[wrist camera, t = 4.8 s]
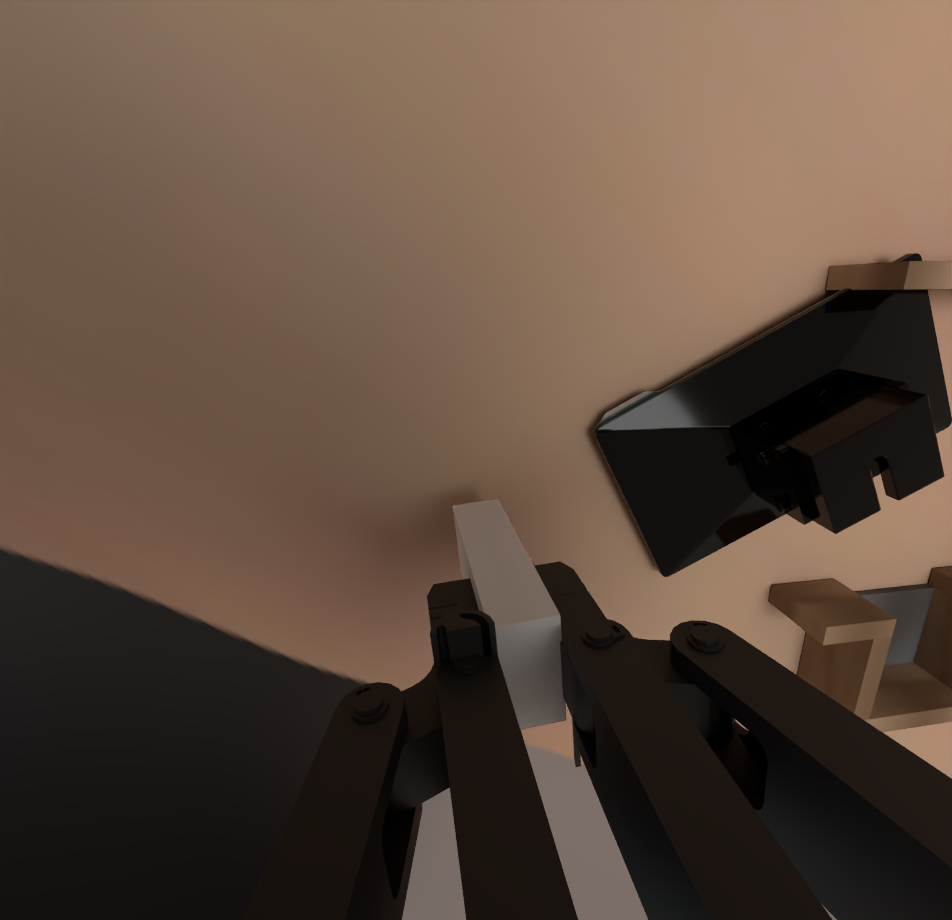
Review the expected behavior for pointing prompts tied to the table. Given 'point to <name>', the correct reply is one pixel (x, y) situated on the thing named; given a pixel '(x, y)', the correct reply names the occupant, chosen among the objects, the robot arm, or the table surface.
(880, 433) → the black notched block
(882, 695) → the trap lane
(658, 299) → the table surface
